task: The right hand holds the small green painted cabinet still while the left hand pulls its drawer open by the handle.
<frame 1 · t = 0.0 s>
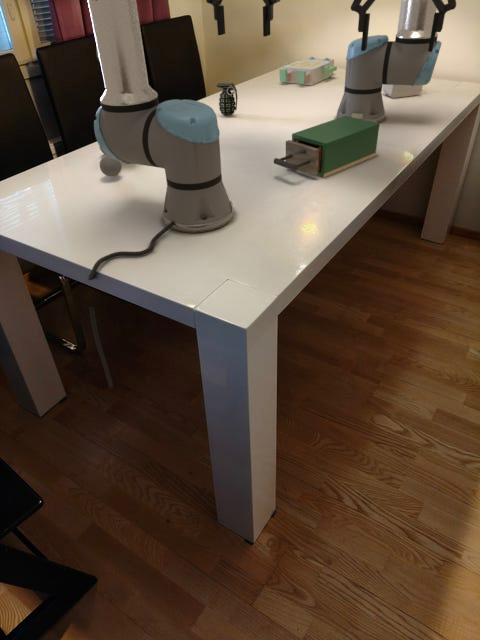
left hand: (243, 35, 129), 28 cm above the table, tool pointing down, fingers open, 13 cm apart
right hand: (396, 50, 103), 28 cm above the table, tool pointing down, fingers open, 13 cm apart
grenade: (228, 115, 169), on the table
molecular model: (136, 162, 137), on the table
cabinet: (333, 161, 130), on the table
electronic device: (401, 94, 180), on the table
decorative block: (307, 79, 207), on the table
drawer: (318, 151, 125), point 4 cm above the table, slide at 1.6 cm
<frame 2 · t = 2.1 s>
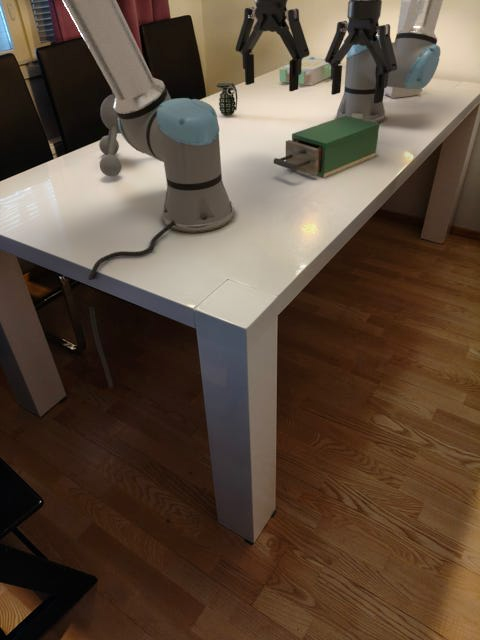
left hand: (271, 87, 120), 19 cm above the table, tool pointing down, fingers open, 13 cm apart
right hand: (356, 97, 124), 15 cm above the table, tool pointing down, fingers open, 13 cm apart
nothing on the table moved.
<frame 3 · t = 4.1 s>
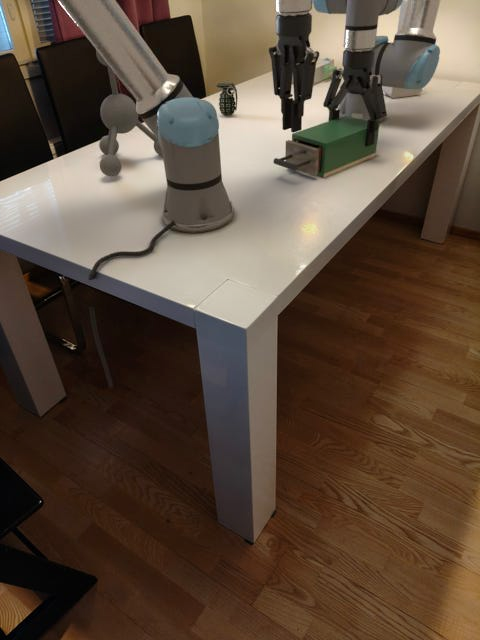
left hand: (291, 129, 115), 12 cm above the table, tool pointing down, fingers open, 2 cm apart
right hand: (351, 140, 131), 4 cm above the table, tool pointing down, fingers closed on cabinet, 11 cm apart
cabinet: (333, 161, 130), on the table, touching right hand
everything else where it was.
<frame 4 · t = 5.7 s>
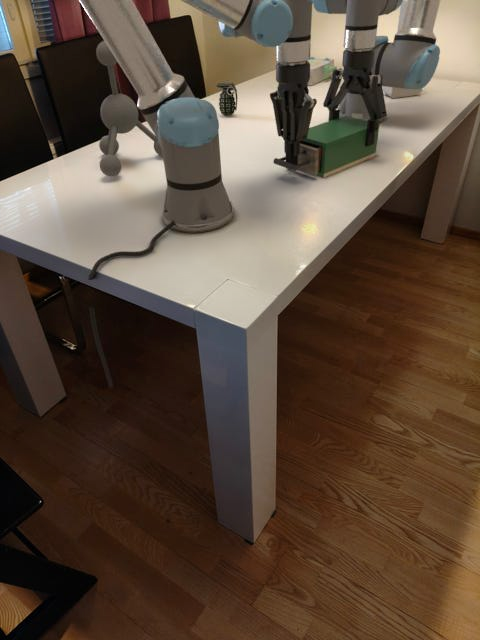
left hand: (291, 167, 121), 3 cm above the table, tool pointing down, fingers closed
right hand: (350, 140, 131), 4 cm above the table, tool pointing down, fingers closed on cabinet, 11 cm apart
cabinet: (333, 161, 130), on the table, touching right hand
drawer: (318, 151, 125), point 4 cm above the table, slide at 1.6 cm, touching left hand
everything else where it was.
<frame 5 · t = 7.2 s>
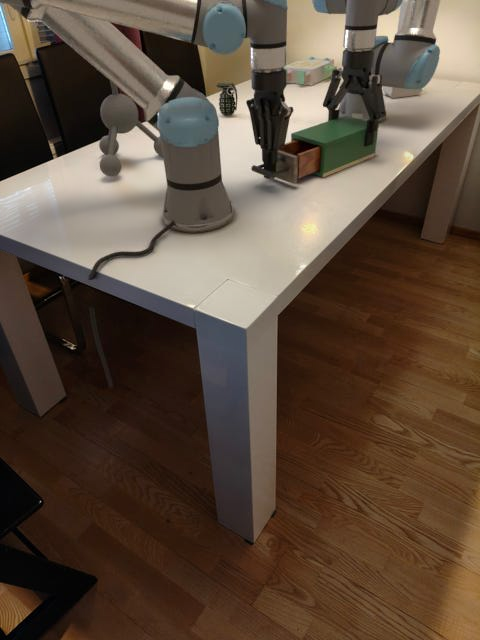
left hand: (269, 176, 118), 3 cm above the table, tool pointing down, fingers closed
right hand: (350, 140, 131), 4 cm above the table, tool pointing down, fingers closed on cabinet, 11 cm apart
cabinet: (333, 161, 130), on the table, touching right hand
drawer: (298, 158, 121), point 4 cm above the table, slide at 8.7 cm, touching left hand
everything else where it was.
when the right hand's fingers open (4 cm above the table, at t = 9.0 s): cabinet stays where it is, on the table.
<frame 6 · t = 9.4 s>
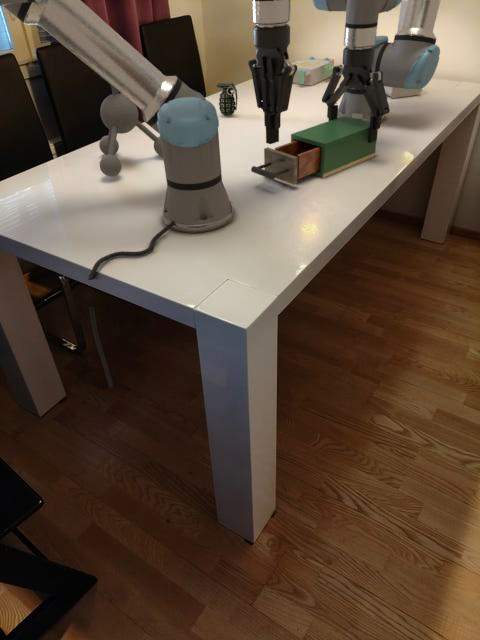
left hand: (272, 142, 113), 11 cm above the table, tool pointing down, fingers closed
right hand: (351, 136, 131), 5 cm above the table, tool pointing down, fingers open, 13 cm apart
cabinet: (333, 161, 130), on the table
drawer: (298, 159, 121), point 4 cm above the table, slide at 8.7 cm
everything else where it was.
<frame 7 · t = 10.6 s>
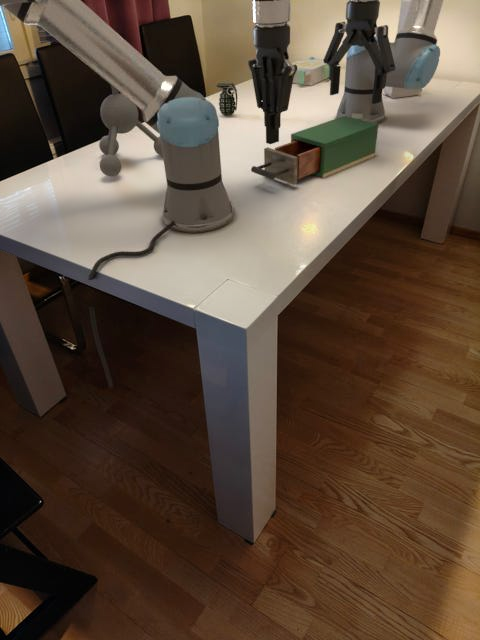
left hand: (272, 142, 113), 11 cm above the table, tool pointing down, fingers closed
right hand: (354, 98, 125), 14 cm above the table, tool pointing down, fingers open, 13 cm apart
nothing on the table moved.
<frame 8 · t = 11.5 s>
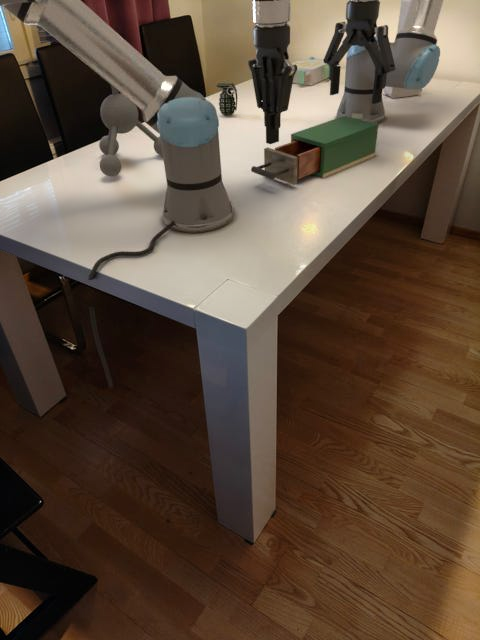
left hand: (272, 142, 113), 11 cm above the table, tool pointing down, fingers closed
right hand: (354, 98, 125), 14 cm above the table, tool pointing down, fingers open, 13 cm apart
nothing on the table moved.
at the end: drawer slide at 8.7 cm; cabinet tilted 0°; cabinet never tilted more than 2° during the clip; cabinet moved 0.3 cm from its start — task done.
